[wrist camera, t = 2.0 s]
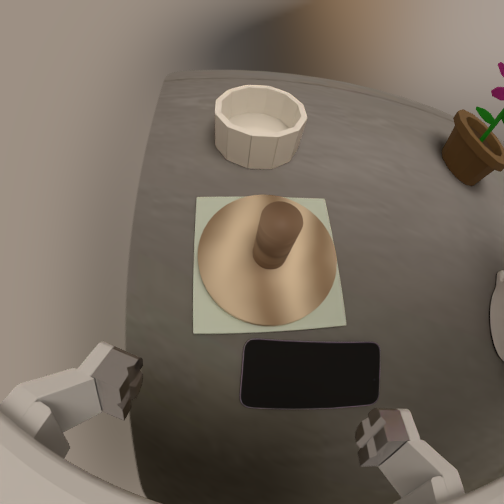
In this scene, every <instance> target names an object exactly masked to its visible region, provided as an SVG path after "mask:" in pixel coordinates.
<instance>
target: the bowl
mask: <svg viewBox="0 0 504 504" xmlns="http://www.w3.org/2000/svg"><path fill="white" fill-rule="evenodd" d="M306 121H307V115H306V112H305V109H304V106H303V104H302V103H301V102H299V101H298V100H297V99H296V98H295V97H293V96H292V95H291V94H290V93H288V92H285V91H282V90H279V89H276V88H273V87H271V86H262V85H244V86H240V87H236V88H233V89H229V90H227V91H226V92H225V93H224V94H222V95H221V96H220V97H219V98H218V99H217V100H216V107H215V146H216V147H217V149H218V150H219V151H220V152H221V154H222V155H223V156H224V157H225V159H227V160H228V161H231V162H233V163H235V164H238V165H240V166H242V167H245V168H248V169H273V168H276V167H278V166H280V165H283V164H285V163H288V162H290V161H291V159H292V157H293V156H294V154H295V153H296V151H297V149H298V147H299V143H300V140H301V137H302V134H303V131H304V127H305V124H306Z"/></svg>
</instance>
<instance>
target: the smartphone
mask: <svg viewBox="0 0 504 504" xmlns="http://www.w3.org/2000/svg"><path fill="white" fill-rule="evenodd" d="M379 390H380V347H379V345H378V344H377V343H375V342H315V341H289V340H272V339H256V338H255V339H250V340H248V341H247V342H246V344H245V346H244V350H243V362H242V374H241V386H240V401H241V403H242V404H243V405H244V406H245V407H248V408H259V409H334V408H347V407H359V406H369V405H372V404H374V403H376V401H377V400H378V398H379Z"/></svg>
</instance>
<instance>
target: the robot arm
mask: <svg viewBox="0 0 504 504" xmlns="http://www.w3.org/2000/svg"><path fill="white" fill-rule="evenodd" d="M490 324H491V332H492V338H493V342H494V345H495V348H496V351H497V353H498V355H499V356H500V358H501V359H502V360H503V361H504V271H503V270H502V271H499V272H498V273H497V281H496V288H495V290H494V293H493V296H492V300H491V307H490ZM142 366H143V359H142V358H141V357H138V356H136V355H133V354H131V353H129V352H126V351H124V350H122V349H120V348H117V347H115V346H113V345H110V344H108V343H106V342H104V341H102V342H100V343H99V344H98V345H97V346H96V347H95V348H94V350H93V351H92V352H91V353H90V354H89V355H88V357H87V358H86V359H85V360H84V362H83V363H82V364H81V365H80V366H79V367H78V369H75V368H71V369H68V370H65V371H61V372H58V373H55V374H51V375H48V376H45V377H41V378H38V379H34V380H31V381H27V382H23V383H20V384H18V385H17V386H16V387H15V388H14V389H13V390H12V391H11V393H10V394H9V395H8V396H7V397H6V398H5V400H4V401H3V402H2V403H1V404H0V504H162V503H158V502H156V501H153V500H150V499H147V498H144V497H141V496H139V495H136V494H134V493H131V492H129V491H126V490H124V489H121V488H119V487H117V486H114V485H113V484H110V483H108V482H106V481H104V480H102V479H100V478H98V477H96V476H94V475H92V474H90V473H88V472H87V471H85V470H83V469H81V468H79V467H77V466H76V465H74V464H72V463H71V462H69V461H67V460H66V459H64V458H65V456H66V454H67V452H68V451H69V449H70V446H69V443H68V441H67V440H66V438H65V436H64V434H63V432H65V431H67V430H69V429H71V428H73V427H75V426H77V425H79V424H81V423H83V422H84V421H86V420H88V419H91V418H92V417H94V416H96V415H98V414H100V413H102V411H103V412H105V413H107V414H110V415H112V416H114V417H116V418H119V419H121V420H125V418H126V416H127V415H128V413H129V411H130V409H131V400H133V399H135V398H137V396H138V394H139V392H140V389H141V386H142V382H143V374H142V372H141V371H140V369H141V368H142ZM355 439H356V444H357V445H358V446H359V447H360V450H359V451H358V457H359V463H360V466H379V468H380V470H381V471H382V472H383V474H384V475H385V476H386V478H387V479H388V480H389V482H390V483H391V484H392V486H393V487H394V488H395V490H396V491H397V492H398V494H399V495H400V496H401V499H400V500H398V501H396V502H394V503H393V504H504V476H502V477H500V478H498V479H497V480H495V481H493V482H491V483H489V484H487V485H485V486H482V487H480V488H478V489H476V490H474V491H471V492H469V493H467V494H465V492H464V489H463V486H462V483H461V480H460V476H459V474H458V471H457V469H455V468H454V467H453V466H452V465H451V464H450V463H449V462H447V461H446V460H445V459H444V458H443V457H442V456H441V455H440V454H439V453H437V452H436V451H435V450H434V449H433V448H432V447H431V446H430V445H428V444H427V443H426V442H425V441H424V440H420V437H419V434H418V431H417V428H416V426H415V423H414V420H413V418H412V415H411V413H410V411H409V410H408V409H392V408H374V409H372V410H371V411H370V412H369V413H368V418H367V419H365V420H363V421H362V422H361V423H360V424H359V425H358V427H357V430H356V434H355Z"/></svg>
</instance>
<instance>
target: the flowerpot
mask: <svg viewBox="0 0 504 504" xmlns="http://www.w3.org/2000/svg"><path fill="white" fill-rule="evenodd" d="M498 66H499V69H500V72H501V74H502V76H503V77H504V64H503V63H502V62H500V63H499V64H498ZM491 92H492V96H494V97H496V98H497V99H499V100H504V87H497V88H495V89H493V90H492V91H491ZM476 110H477V111H478V113H479V115H480V116H481V117H482V118H483V119H484V121H485V122H487V123H489V124H491V125H490V126H489V128H488V127H487V126H486V125H485V124H484V123H483V122H482V121H481V120H479V119H478V118H477V117H475V115H473V114H471V113H469V112H467V111H465V110H460V111H458V112H457V113H456V115H455V116H454V118H453V119H454V123H455V127H454V129H453V131H452V133H451V134H450V136H449V138H448V140H447V142H446V144H445V146H444V147H443V149H442V158H443V160H444V161H445V163H446V165H447V167H448V168H449V170H450V171H451V172H452V173H453V174H454V176H455V177H456V178H457V179H459V180H460V181H461V182H463V183H464V184H465V185H470V186H473V185H475V184H476V183H477V182H479V181H480V180H481V179H483V178H484V177H485V176H487V175H488V174H489V173H491V172H492V171H493V170H497V171H500V172H501V171H502V170H503V169H504V148H503V146H502V145H501V143H500V142H499V140H498V139H497V137H496V136H495V135H494V134H493V133H492V130H493V129H494V128H495V126H496V125H497V124H498V122H499V121H500V120H501V119H502V121H503V123H504V109H503V110H502V111H501V112H500V113H499V115H498V116H497V118H496V119H494V118H493V117H492V115H491V114H490V113H489V112H488V111H486V110H485V109H483V108H480V107H476Z"/></svg>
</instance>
